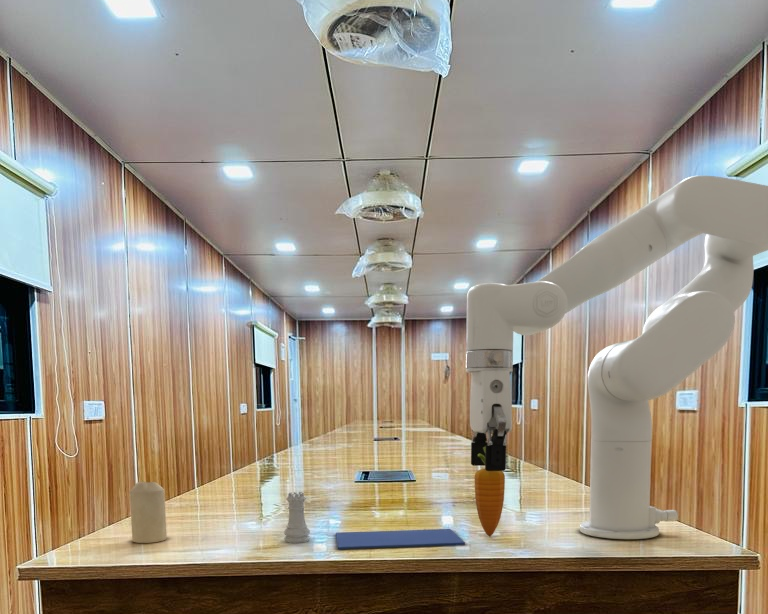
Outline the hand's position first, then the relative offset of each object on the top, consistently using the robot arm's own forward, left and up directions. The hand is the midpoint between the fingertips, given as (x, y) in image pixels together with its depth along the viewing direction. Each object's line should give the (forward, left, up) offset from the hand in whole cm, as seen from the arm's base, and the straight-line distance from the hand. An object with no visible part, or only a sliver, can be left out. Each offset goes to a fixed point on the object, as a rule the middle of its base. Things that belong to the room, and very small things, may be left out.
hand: (487, 468), depth 109 cm
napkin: (+15, 0, -12) cm, 19 cm away
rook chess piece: (+32, -2, -12) cm, 34 cm away
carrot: (0, 0, -12) cm, 12 cm away
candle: (+57, -7, -12) cm, 58 cm away
